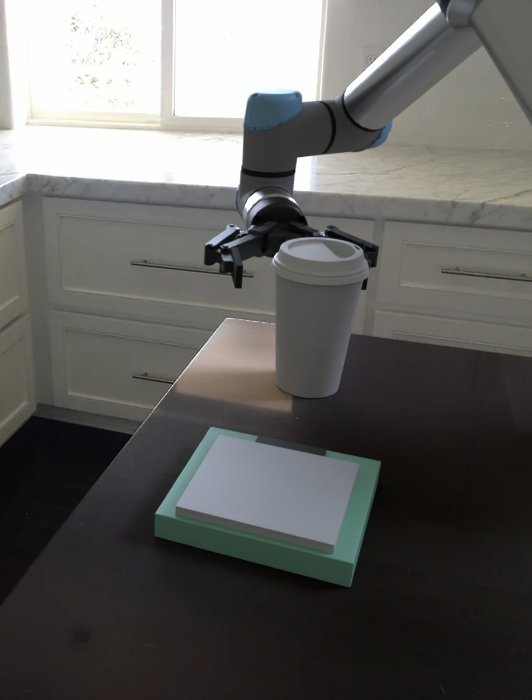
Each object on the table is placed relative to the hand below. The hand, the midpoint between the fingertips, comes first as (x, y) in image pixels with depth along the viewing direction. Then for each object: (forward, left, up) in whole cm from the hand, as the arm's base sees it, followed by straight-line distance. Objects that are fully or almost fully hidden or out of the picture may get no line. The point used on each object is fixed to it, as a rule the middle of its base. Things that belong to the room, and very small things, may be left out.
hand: (301, 277), depth 96 cm
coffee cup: (+3, +7, -9) cm, 12 cm away
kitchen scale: (+19, +25, -9) cm, 33 cm away
